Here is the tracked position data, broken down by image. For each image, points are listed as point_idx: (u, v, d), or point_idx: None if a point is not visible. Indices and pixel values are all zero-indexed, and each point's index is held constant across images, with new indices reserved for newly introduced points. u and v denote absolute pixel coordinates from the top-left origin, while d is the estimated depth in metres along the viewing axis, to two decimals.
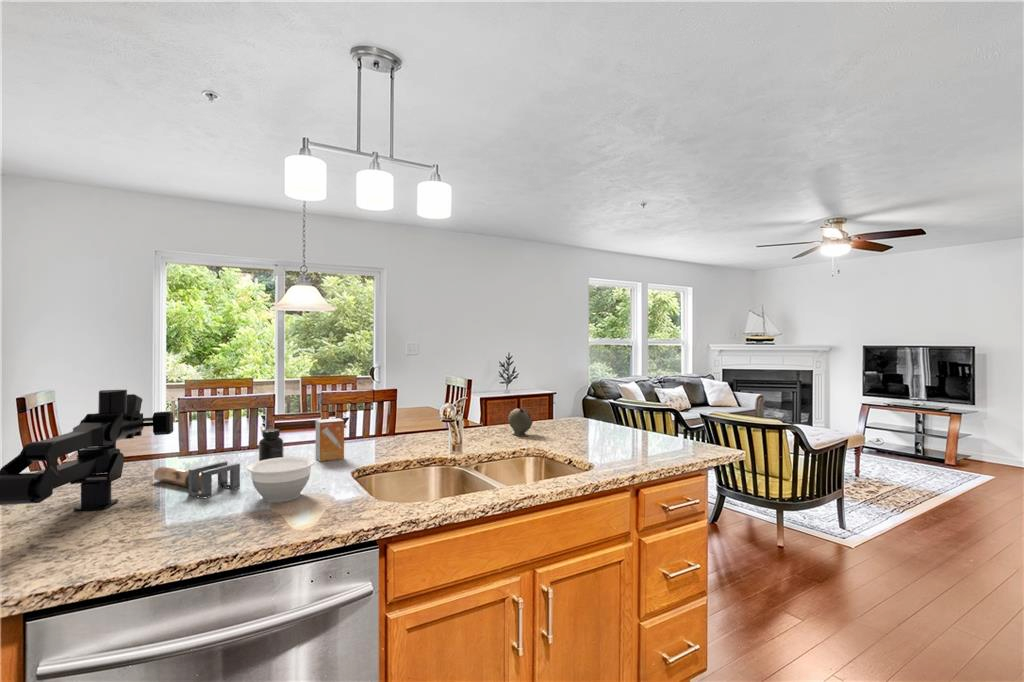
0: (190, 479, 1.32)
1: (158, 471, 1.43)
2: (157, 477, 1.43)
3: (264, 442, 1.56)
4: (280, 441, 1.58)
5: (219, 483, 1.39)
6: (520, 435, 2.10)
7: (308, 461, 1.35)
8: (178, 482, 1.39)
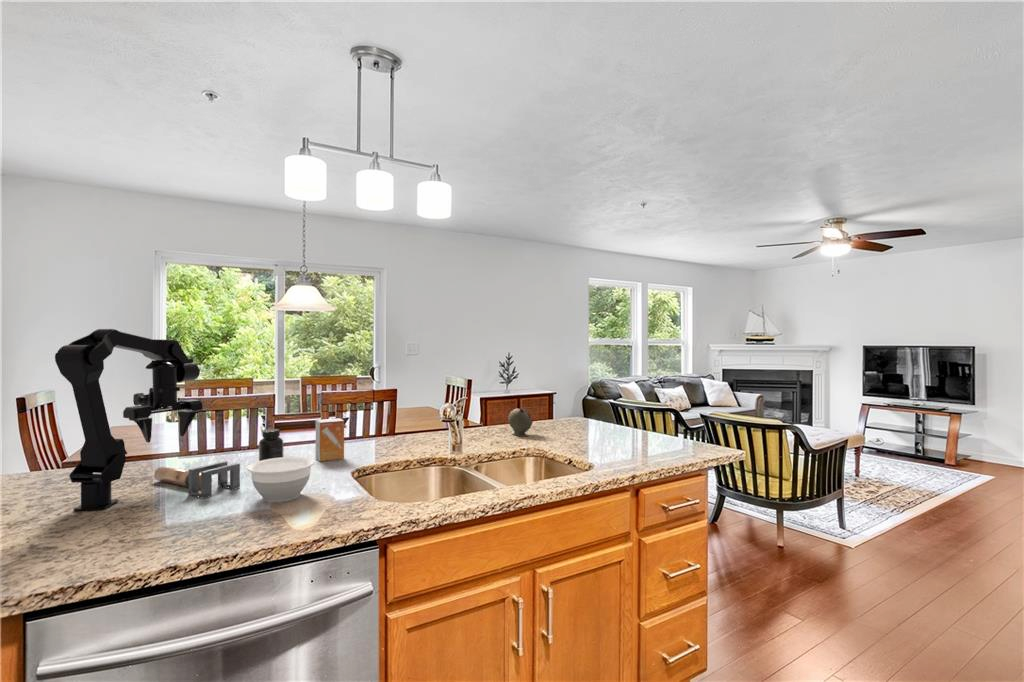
0: (190, 479, 1.32)
1: (158, 471, 1.43)
2: (157, 477, 1.43)
3: (264, 442, 1.56)
4: (280, 441, 1.58)
5: (219, 483, 1.39)
6: (520, 435, 2.10)
7: (308, 461, 1.35)
8: (178, 482, 1.39)
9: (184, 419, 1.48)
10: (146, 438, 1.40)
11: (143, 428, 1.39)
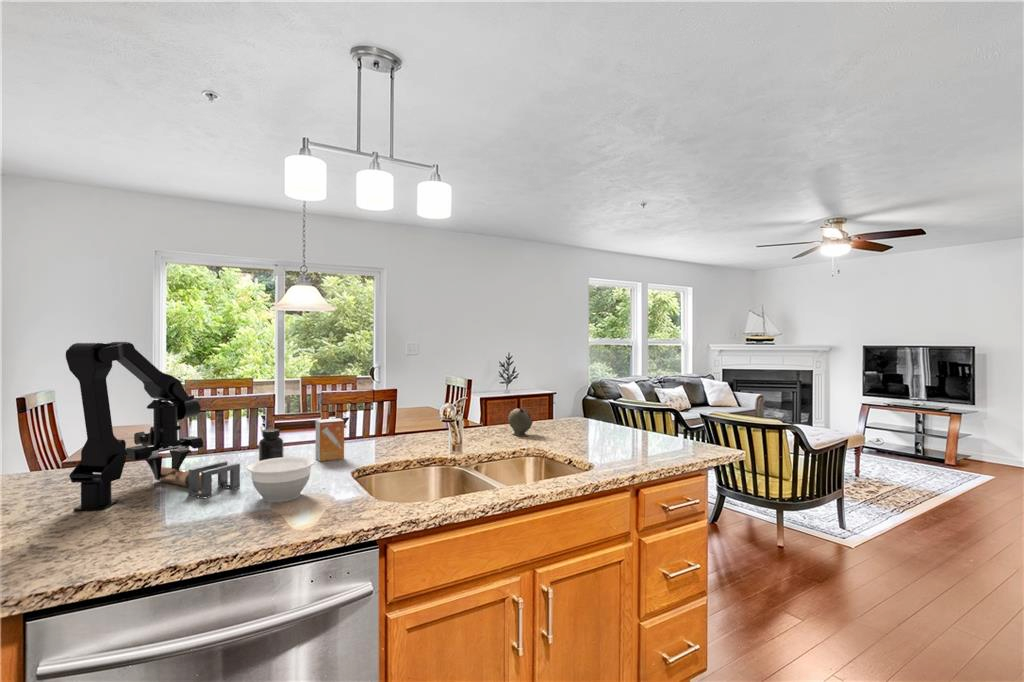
0: (190, 479, 1.32)
1: None
2: None
3: (264, 442, 1.56)
4: (280, 441, 1.58)
5: (219, 483, 1.39)
6: (520, 435, 2.10)
7: (308, 461, 1.35)
8: (178, 482, 1.39)
9: (176, 459, 1.46)
10: (156, 476, 1.42)
11: (153, 466, 1.41)
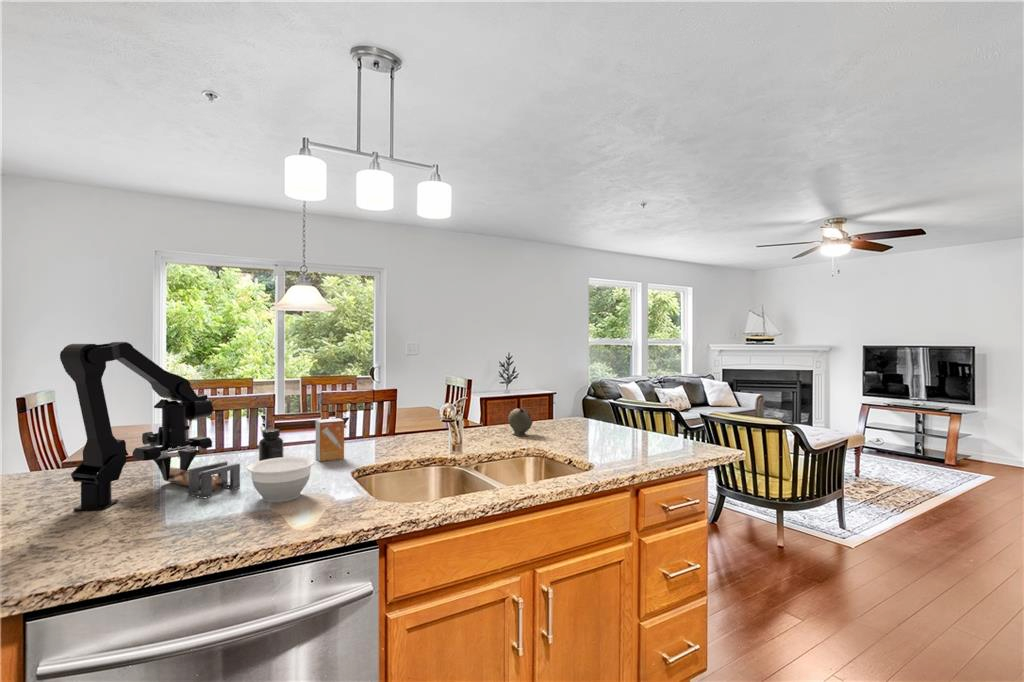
0: (190, 479, 1.32)
1: None
2: None
3: (264, 442, 1.56)
4: (280, 441, 1.58)
5: None
6: (520, 435, 2.10)
7: (308, 461, 1.35)
8: (187, 483, 1.37)
9: (185, 459, 1.45)
10: (164, 476, 1.40)
11: (162, 466, 1.40)
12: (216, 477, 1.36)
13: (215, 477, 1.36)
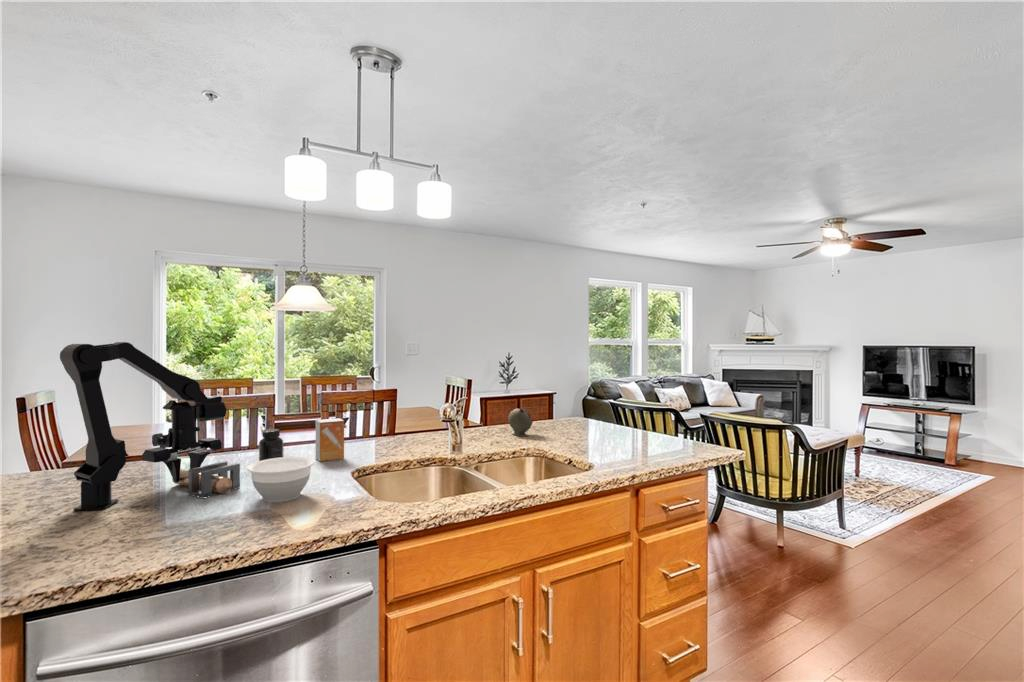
0: (190, 479, 1.32)
1: None
2: None
3: (264, 442, 1.56)
4: (280, 441, 1.58)
5: None
6: (520, 435, 2.10)
7: (308, 461, 1.35)
8: None
9: (195, 461, 1.43)
10: (174, 478, 1.38)
11: (172, 468, 1.38)
12: (227, 479, 1.34)
13: (226, 479, 1.34)
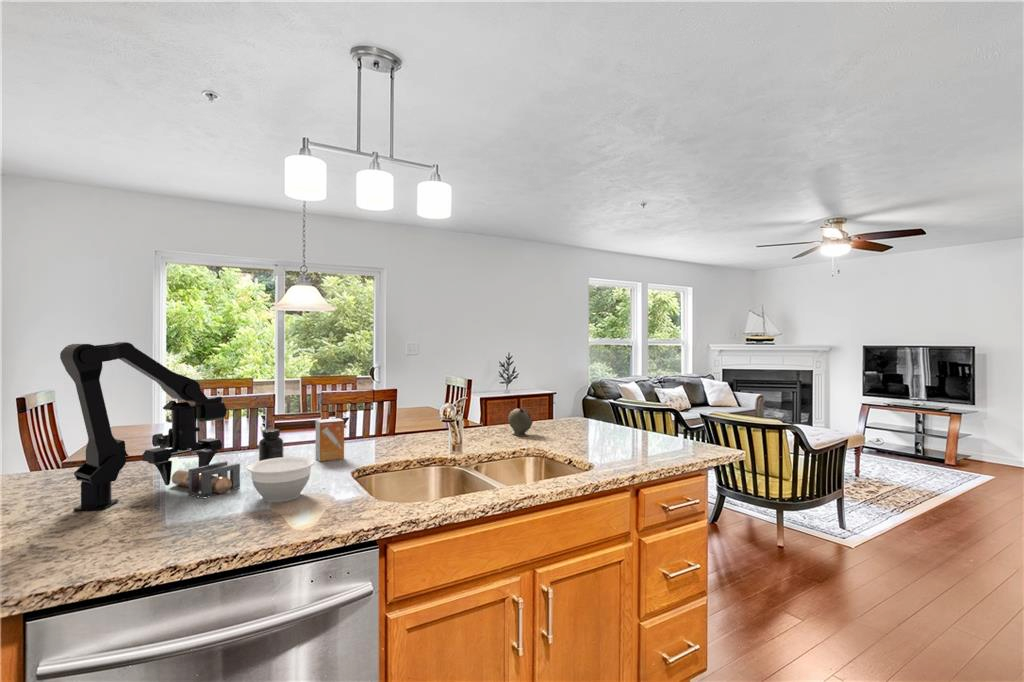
0: (190, 479, 1.32)
1: (175, 475, 1.40)
2: (175, 481, 1.39)
3: (264, 442, 1.56)
4: (280, 441, 1.58)
5: None
6: (520, 435, 2.10)
7: (308, 461, 1.35)
8: None
9: (203, 459, 1.45)
10: (165, 481, 1.36)
11: (162, 471, 1.36)
12: (226, 479, 1.34)
13: (224, 479, 1.34)
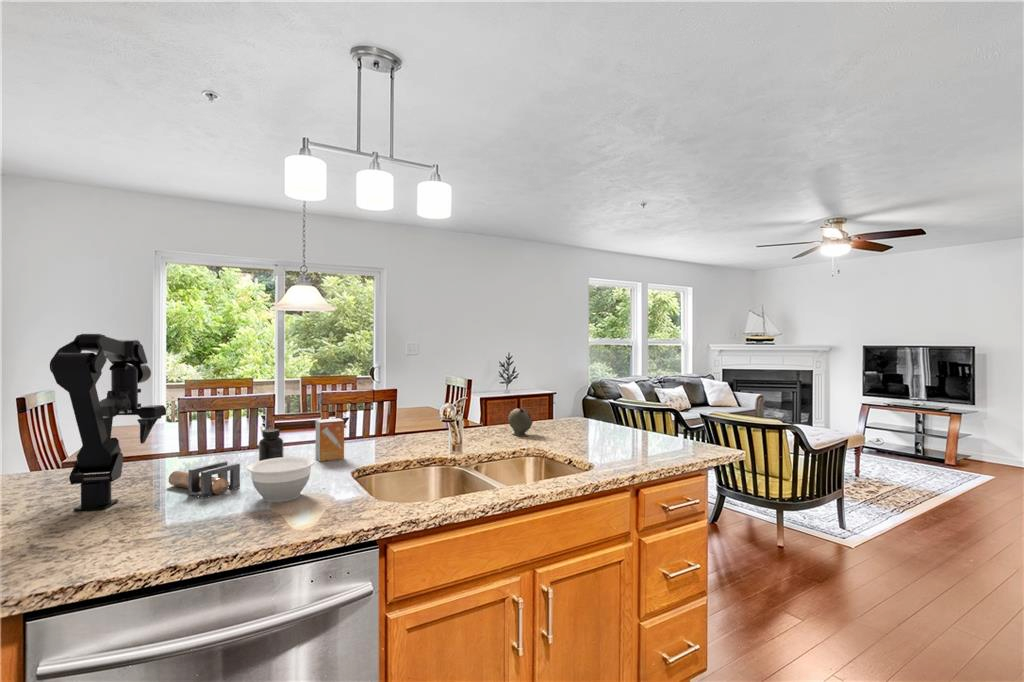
0: (190, 479, 1.32)
1: (171, 479, 1.39)
2: (173, 484, 1.39)
3: (264, 442, 1.56)
4: (280, 441, 1.58)
5: None
6: (520, 435, 2.10)
7: (308, 461, 1.35)
8: None
9: (108, 425, 1.39)
10: (145, 438, 1.39)
11: (147, 428, 1.39)
12: (220, 481, 1.33)
13: (219, 481, 1.32)
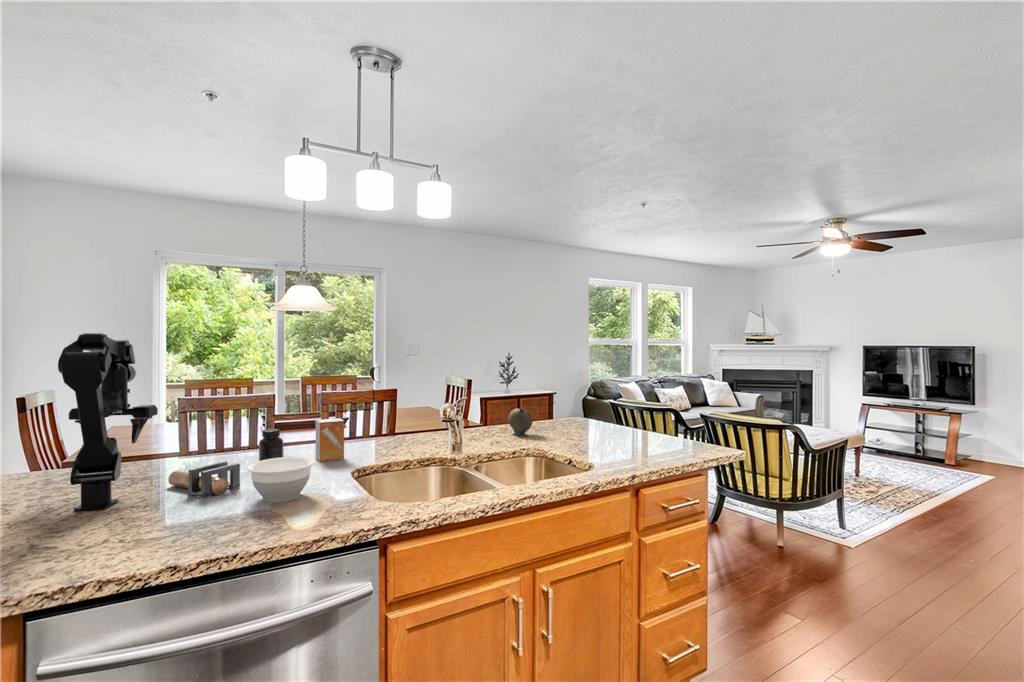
0: (190, 479, 1.32)
1: (171, 479, 1.38)
2: (173, 484, 1.39)
3: (264, 442, 1.56)
4: (280, 441, 1.58)
5: None
6: (520, 435, 2.10)
7: (308, 461, 1.35)
8: None
9: None
10: (136, 438, 1.39)
11: (138, 428, 1.39)
12: (220, 481, 1.32)
13: (219, 481, 1.32)
